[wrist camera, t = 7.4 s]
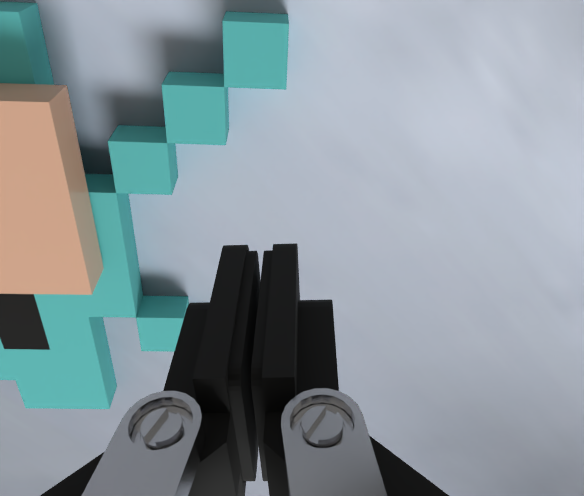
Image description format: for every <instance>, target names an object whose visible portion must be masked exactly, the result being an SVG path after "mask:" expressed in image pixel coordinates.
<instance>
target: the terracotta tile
mask: <svg viewBox="0 0 584 496" xmlns="http://www.w3.org/2000/svg"><path fill="white" fill-rule="evenodd" d="M103 269H104V267H103V262H102V257H101V253H100V248H99V243H98V238H97V233H96V228H95V223H94V218H93V213H92V208H91V203H90V198H89V193H88V188H87V183H86V178H85V173H84V168H83V163H82V158H81V153H80V148H79V143H78V138H77V133H76V128H75V123H74V118H73V113H72V108H71V103H70V98H69V93H68V88H67V85H45V84H11V83H0V294H72V295H92V294H93V291H94V289H95V287H96V285H97V282H98V280H99V278H100V276H101V273H102V271H103Z"/></svg>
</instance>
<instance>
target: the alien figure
mask: <svg viewBox="0 0 584 496" xmlns="http://www.w3.org/2000/svg"><path fill="white" fill-rule="evenodd" d="M222 23H223V60H224V74H221V73H194V72H169V73H168V74H167V76H166V78H165V80H164V81H163V83H162V95H163V105H164V116H165V127H158V126H128V125H118V126H117V128H116V129H115V131H114V132H113V134H112V136H111V137H110V139H109V140H108V146H109V152H110V158H111V165H112V171H113V175H112V174H85V178H86V183H87V188H88V193H89V198H90V203H91V208H92V213H93V218H94V223H95V228H96V233H97V238H98V243H99V248H100V253H101V257H102V262H103V267H104V269H103V271H102V273H101V276H100V278H99V280H98V282H97V285H96V287H95V289H94V291H93V294H92V295H72V294H0V380H16V383H17V386H18V388H19V391H20V394H21V397H22V399H23V402H24V405H25V407H26V408H60V409H110V406H111V403H112V400H113V396H114V393H115V390H116V387H117V384H116V379H115V374H114V369H113V365H112V360H111V355H110V350H109V345H108V341H107V336H106V331H105V326H104V321H103V317H136V320H137V326H138V332H139V338H140V345H141V351H174V352H175V348H176V345H177V341H178V338H179V334H180V331H181V327H182V323H183V320H184V316H185V313H186V309H187V307H188V305H189V300H188V296H143V291H142V284H141V277H140V270H139V263H138V256H137V250H136V243H135V236H134V229H133V222H132V215H131V209H130V202H129V195H128V193H129V194H165V195H172V193H173V190H174V187H175V184H176V181H177V178H178V170H177V158H176V146H175V143H177V144H207V145H226V141H227V136H228V131H229V111H228V87H233V88H260V89H286V82H287V57H288V31H289V21H288V14H274V13H251V12H228V11H226V13H225V16H224V18H223V21H222ZM0 83H11V84H45V85H54V82H53V77H52V72H51V68H50V63H49V58H48V53H47V49H46V44H45V39H44V34H43V29H42V25H41V20H40V15H39V10H38V5H37V3H23V2H0Z"/></svg>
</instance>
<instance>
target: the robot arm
mask: <svg viewBox="0 0 584 496" xmlns="http://www.w3.org/2000/svg"><path fill="white" fill-rule="evenodd" d="M258 446H259V453H260V461H261V469H262V477H263V481H268V486H269V495H270V496H449V495H447V494H446V493H445V492H443V491H442V490H441V489H439V488H438V487H437V486H435V485H434V484H433V483H431V482H430V481H429V480H427V479H426V478H425V477H423V476H422V475H421V474H419V473H418V472H417V471H415V470H414V469H413V468H412V467H410V466H409V465H408V464H406V463H405V462H404V461H402V460H401V459H400V458H398V457H397V456H396V455H394V454H393V453H392V452H390V451H389V450H388V449H386V448H385V447H384V446H382V445H381V444H380V443H378V442H377V441H376V440H374V439H373V438H372V437H370V436H369V434H368V430H367V427H366V424H365V420H364V417H363V414H362V412H361V410H360V408H359V406H358V404H357V403H356V402H355V401H354V400H353V399H351V398H350V397H349V396H347V395H346V394H344V393H342V392H340V391H339V387H338V373H337V359H336V346H335V332H334V318H333V304H332V300H300V292H299V270H298V248H297V244H273V251H264V255H263V264H262V273H261V282H260V272H259V261H258V253H257V251H249V248H248V245H227V246H223V248H222V252H221V257H220V261H219V265H218V270H217V274H216V278H215V283H214V287H213V291H212V296H211V300H210V303H190V304H189V305H188V307H187V309H186V313H185V316H184V320H183V323H182V327H181V331H180V334H179V338H178V341H177V345H176V348H175V352H174V355H173V359H172V362H171V366H170V369H169V373H168V376H167V380H166V383H165V387H164V391H161V392H157V393H153V394H150V395H148V396H146V397H144V398H142V399H140V400H139V401H138V402H136V403H135V404H134V405H133V406H132V407H130V408H129V410H128V411H127V412H126V414H125V415H124V417H123V418H122V420H121V422H120V424H119V426H118V427H117V429H116V431H115V433H114V435H113V437H112V439H111V441H110V443H109V445H108V446H107V448H106V450H105V452H104V453H102V454H101V455H99V456H98V457H96V458H95V459H93V460H92V461H90V462H89V463H87V464H86V465H84V466H83V467H82V468H80V469H79V470H77V471H76V472H74V473H73V474H71V475H70V476H68V477H67V478H65V479H64V480H62V481H61V482H60V483H58V484H57V485H55V486H54V487H52V488H51V489H49V490H48V491H46V492H45V493H43V494H42V495H41V496H245V487H246V481H255V479H256V470H257V458H258Z"/></svg>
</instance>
